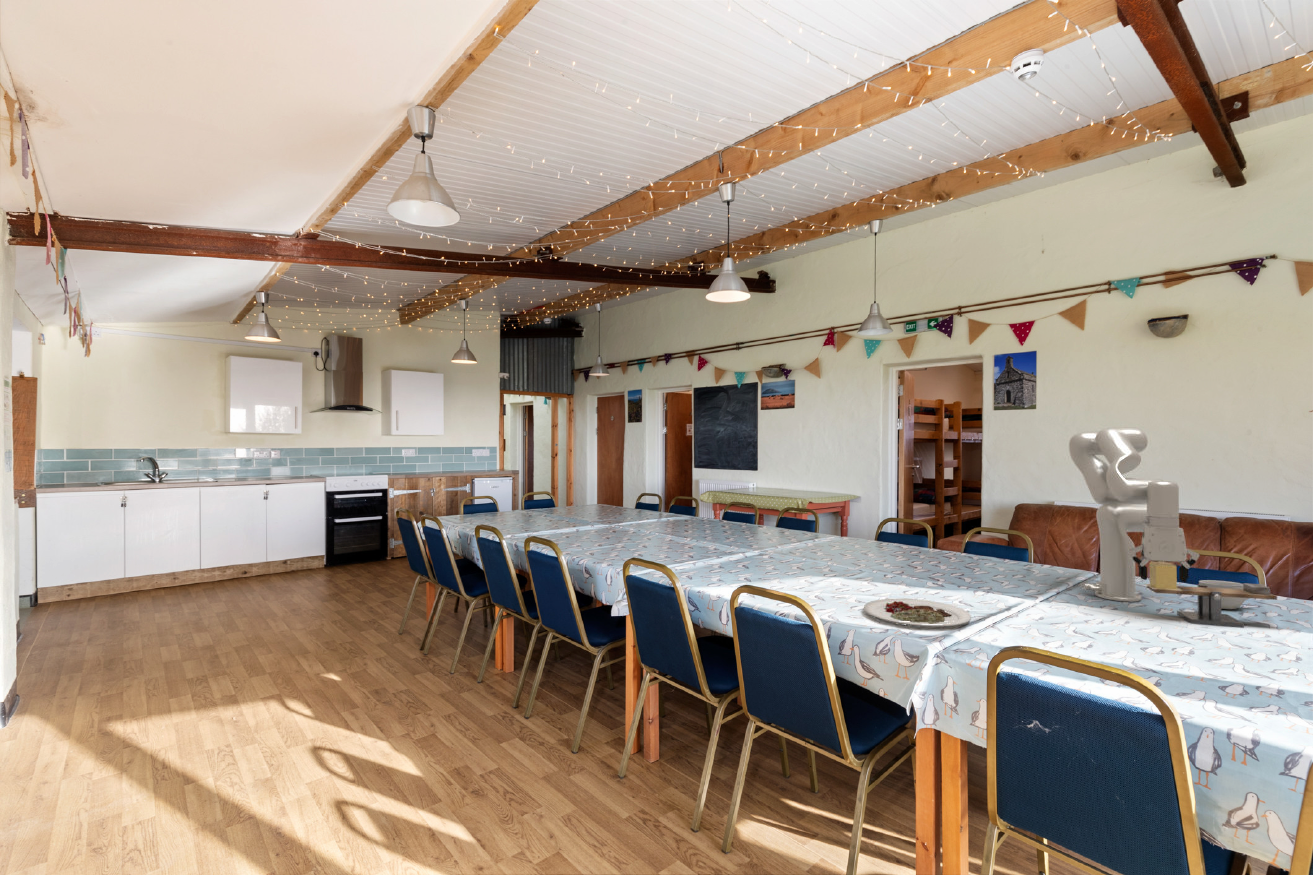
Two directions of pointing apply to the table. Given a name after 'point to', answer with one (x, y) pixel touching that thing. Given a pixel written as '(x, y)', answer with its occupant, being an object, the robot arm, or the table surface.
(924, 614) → the plated food
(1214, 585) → the teacup
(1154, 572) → the block
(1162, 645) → the table surface
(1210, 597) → the beam stand
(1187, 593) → the beam
